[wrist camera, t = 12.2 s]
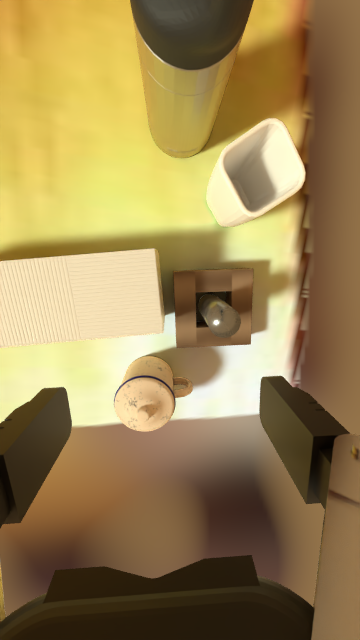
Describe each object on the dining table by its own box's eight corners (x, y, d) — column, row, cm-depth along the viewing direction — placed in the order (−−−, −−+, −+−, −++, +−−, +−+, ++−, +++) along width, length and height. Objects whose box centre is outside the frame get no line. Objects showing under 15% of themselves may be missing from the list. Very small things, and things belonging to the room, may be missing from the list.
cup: (219, 237, 39) (248, 223, 25) (196, 195, 38) (212, 155, 23) (259, 211, 39) (312, 181, 24) (236, 167, 37) (279, 108, 23)
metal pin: (197, 294, 41) (208, 307, 30) (221, 293, 41) (241, 305, 30) (198, 317, 42) (208, 338, 31) (221, 316, 42) (240, 337, 31)
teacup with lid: (129, 402, 46) (115, 449, 34) (120, 357, 43) (102, 391, 32) (192, 393, 46) (200, 437, 34) (186, 348, 44) (192, 379, 32)
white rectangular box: (158, 251, 40) (154, 248, 29) (164, 315, 42) (163, 333, 32) (-41, 268, 39) (-118, 271, 29) (-22, 331, 42) (-87, 355, 31)
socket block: (173, 270, 40) (173, 272, 36) (245, 268, 41) (253, 268, 37) (176, 340, 43) (176, 347, 39) (243, 336, 43) (250, 344, 40)
